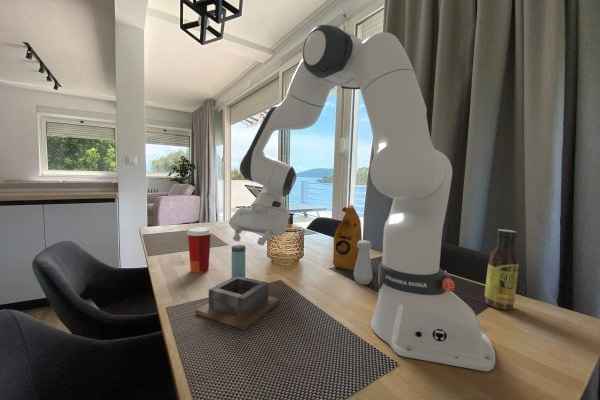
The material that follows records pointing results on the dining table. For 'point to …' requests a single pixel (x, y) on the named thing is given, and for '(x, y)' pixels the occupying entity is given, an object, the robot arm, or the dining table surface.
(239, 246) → the marker peg
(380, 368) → the dining table surface
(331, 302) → the dining table surface
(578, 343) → the dining table surface
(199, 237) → the paper cup
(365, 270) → the salt shaker
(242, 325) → the grey box holder
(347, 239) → the coffee package
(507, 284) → the sauce bottle
